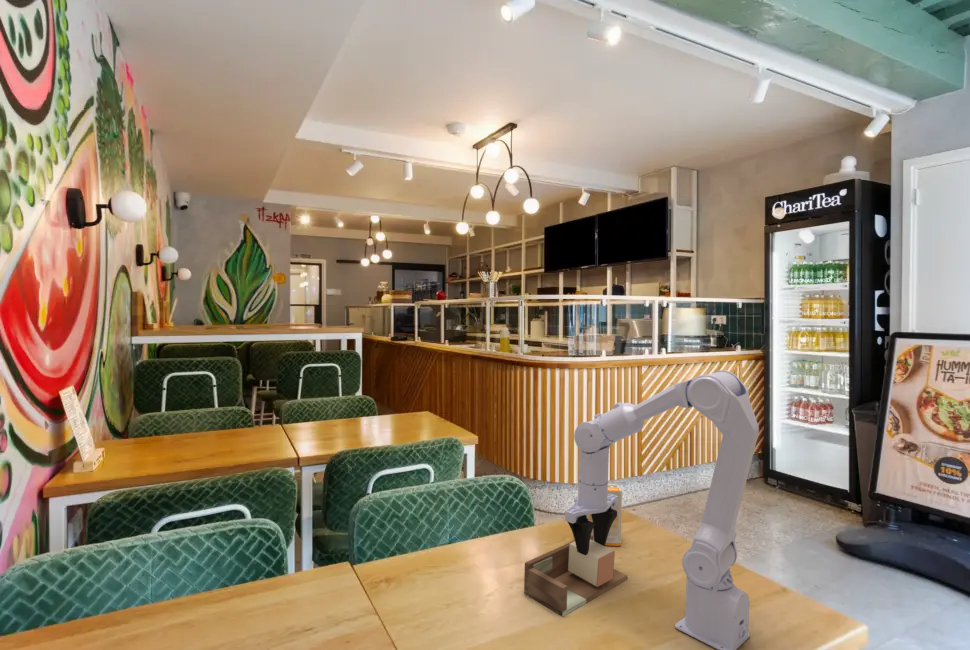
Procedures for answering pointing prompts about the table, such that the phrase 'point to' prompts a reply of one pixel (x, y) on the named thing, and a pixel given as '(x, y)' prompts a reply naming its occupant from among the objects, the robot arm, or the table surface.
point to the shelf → (562, 582)
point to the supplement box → (615, 529)
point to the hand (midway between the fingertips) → (591, 548)
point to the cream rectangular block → (592, 563)
